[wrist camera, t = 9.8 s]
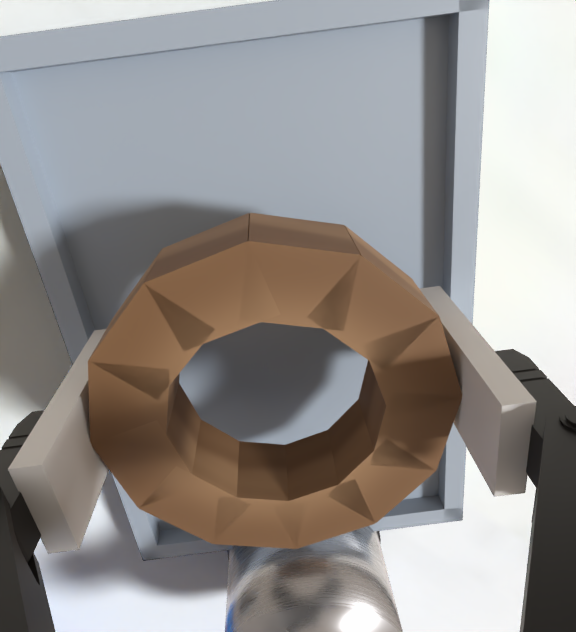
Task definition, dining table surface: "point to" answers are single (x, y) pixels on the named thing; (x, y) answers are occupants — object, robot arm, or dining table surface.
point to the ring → (263, 458)
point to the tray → (252, 184)
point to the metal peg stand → (312, 587)
